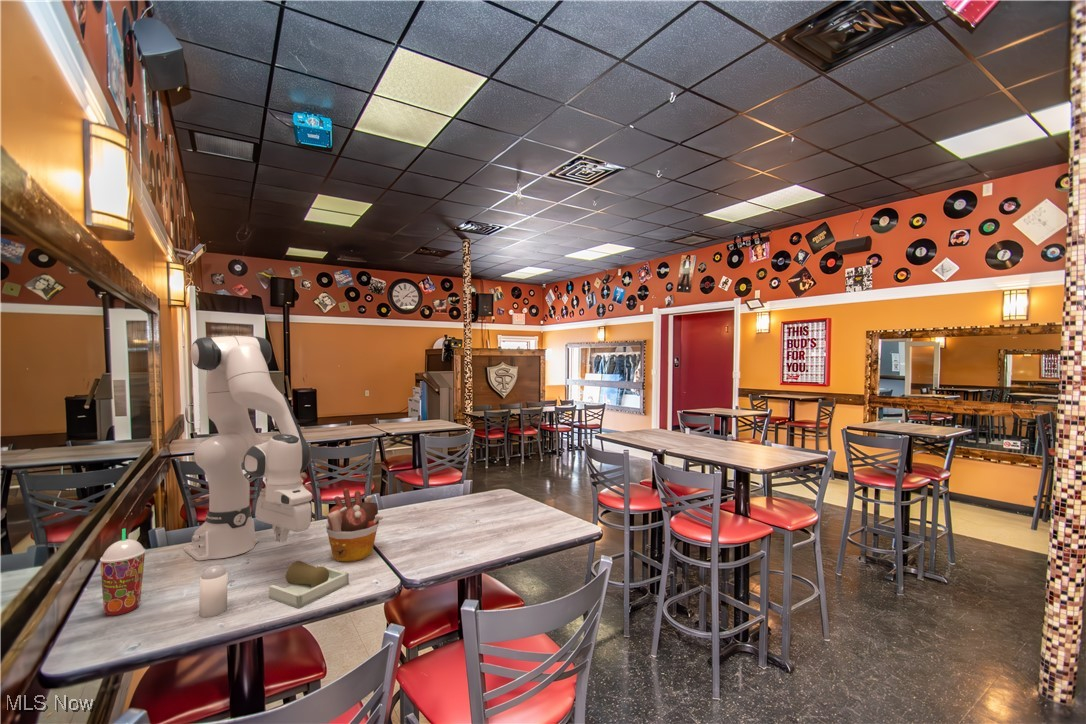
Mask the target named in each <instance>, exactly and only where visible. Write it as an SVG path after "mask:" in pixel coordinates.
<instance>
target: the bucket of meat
mask: <svg viewBox="0 0 1086 724" xmlns="http://www.w3.org/2000/svg"><path fill="white" fill-rule="evenodd" d="M342 493H343V498H344V503H345V506H344V503H343V501H342V498H341V496H335V497H334V499H333V501H334V503H335V505H333V506H332V507H331V508H330V509H329V512H328V513H327V514H326V520H327V523H326V533H327V537H328V541H329V544H330V545H329V546H330V549H331V553H332V558H333V559H335V561H337V562H341V563H352V562H353V563H354V562H357V561H361V560H364V559H365V558H367V556H368V557H369V556H370V555H371V554H372V553H373V549H374V544H375V541H376V536H377V532H378V528H379V522H380V521H382V520H383V519H384V517H383V515H381V514H379V509H378V503H377V502H372V500H373V496H372V495H367V496H366V497H365V498H364V501H363V502H362V494H361V493H362V492H361V491H360V490H356V491H355V492H354V504H355V505H353V504H352V500H351V499H352V498H351V495H350V489H349V488H347V487H345V488H343V491H342Z"/></svg>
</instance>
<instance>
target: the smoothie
mask: <svg viewBox="0 0 1086 724" xmlns="http://www.w3.org/2000/svg"><path fill="white" fill-rule="evenodd" d="M145 553H146V548H144V546H143V545H142V544H141V543H140V541H137V540H136V539H130V538H126V528H122V529H121V539H120V540H118V541H115V542H113V543H112V544H111V545H109V546H108V547H107V548H106V550H105V551H104V553H103V555H102V556H101V557H100V558H99V560H100V575H101V576H100V577H101V588H102V589H101V591H102V606H103V608H102V609H103V611H105V613H106V615H107V616H111V617H112V616H119V615H120V616H121V615H122V614H123V615H124V614H127V613H130V612H131V611H134V610H135V609H136V608H137V607H139V606H138V605H139V603H140V602H141V597H142V590H143V589H142V587H143V579H144V578H143V575H144V567H145V557H146V554H145Z"/></svg>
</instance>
